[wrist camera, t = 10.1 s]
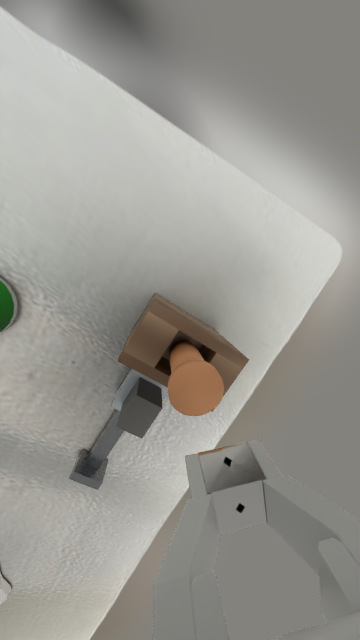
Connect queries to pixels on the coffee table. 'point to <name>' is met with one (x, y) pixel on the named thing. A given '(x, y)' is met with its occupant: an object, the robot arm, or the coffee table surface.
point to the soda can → (7, 305)
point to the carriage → (138, 403)
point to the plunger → (193, 381)
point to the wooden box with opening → (170, 328)
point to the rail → (97, 456)
